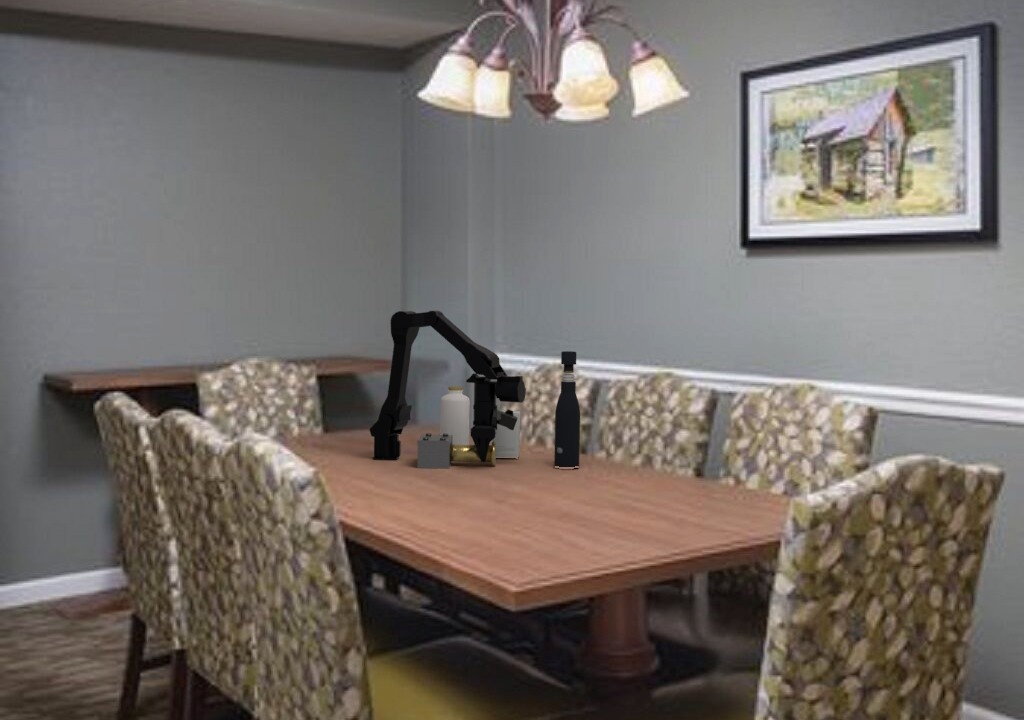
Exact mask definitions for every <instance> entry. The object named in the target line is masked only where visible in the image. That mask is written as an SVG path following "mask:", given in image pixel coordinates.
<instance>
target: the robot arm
mask: <svg viewBox="0 0 1024 720" xmlns="http://www.w3.org/2000/svg"><path fill="white" fill-rule="evenodd" d="M425 327H431V329H432V328H433V329H434V331H436V332H437V333H438V334H439V335H440V336H441V337H442V338H444V339H445V340H446V341H447V342H448V343H449V344H450V345H451V346H453V347H454V348H455V349H456V350H457V351H458V352H459V353H461V355H462V356H463V357H464V359H465V362H466V363H467V365H468V366H469V367H470V369H471V370H472V372H473V373H472V374H471V376H470V377H468V378H467V379H466V380H465V382H466V383H468V384H469V383H470V384H471V383H472V384H473V405H472V406H473V407H472V408H473V421H472V427H471V428H470V437H471V439H472V442H473V445H475V447H476V449H477V452H478V454H479V457H480V460H481V462H480V463H487V462H486V457H487V452H488V448H489V445H491V444H490V443H492V442H493V439H494V438H495V436H496V430H497V424H499V425H502V426H504V427H507V428H508V429H510V430H514V427H515V424H516V422H517V419H518V418H517V417H516V416H514V415H513V411H514V410H511V409H507V410H505V411H506V412H503V411H504V410H499V409H498V404H497V399H498V400H499V401H500V402H503V403H520V404H521V403H524V401H525V398H526V393H527V388H526V385H525V382H524V380H523V379H524V378H523V376H522V375H516V376H515V375H514V376H513V375H508V374H507V373H506V371H505V370H504V368H503V367H502V365H501V363H500V357H499V356H498V354H496V353H495V352H494V351H492V350H490V349H489V348H487V347H484V346H482V345H481V344H479V343H477V342H475V341H473V340H472V339H471V337H469V336H468V335H467V334H466V333H465V332H463V331H462V330H461V329H460V328H459V327H457V325H455V324H454V323H453V322H452V321H451V320H450V319H449V318H447V317H446V316H445V315H444V313H443V312H442V311H440V310H429V311H425V312H415V311H413V310H403V311H401V310H399V311H396V312H395V313H393V314H392V315H391V317H390V336H391V338H392V341H393V348H392V349H393V350H392V355H391V357H392V358H391V365H390V373H389V381H388V388H387V389H388V390H387V396H386V398H385V400H384V402H383V404H382V405H381V408H380V411H379V414H378V417H377V420H376V422H375V423H373V425H372V426H370V428H369V433H370V436H371V438H372V437H373V457H372V460H394V461H395V460H398V459H399V458H400V457H401V456H402V454H401V452H402V448H401V447H402V445H401V444H402V441H401V439H399V438H400V437H399V436H400V435H402V432H403V430H404V428H405V427H406V426H407V425H408V422H409V421H410V420H412V419H411V412H412V405H411V404H408V403H407V399H406V391H407V384H408V377H409V370H410V363H411V362H410V361H411V354H412V347H413V344H414V342H415V340H416V338H417V336H418V334H419V331H420V328H425Z"/></svg>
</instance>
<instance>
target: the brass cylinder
mask: <svg viewBox="0 0 1024 720" xmlns="http://www.w3.org/2000/svg"><path fill="white" fill-rule="evenodd" d="M450 461H452V463H453V462H459V463H460V462H461V463H462V462H464V463H465V462H466V463H467V462H468V463H482V462H481V460H480V457H479V454H478V452H477V449H476V447H475V444H469V445H456V444H450ZM496 462H497V459H496V442H493V441H491V444H489V448H488V452H487V457H486V462H485V463H491V466H496Z"/></svg>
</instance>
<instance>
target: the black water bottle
mask: <svg viewBox="0 0 1024 720" xmlns="http://www.w3.org/2000/svg"><path fill="white" fill-rule="evenodd" d="M560 358H561V359H560V365H563V374H562V376H561V377H562V378H561V381H560V394H559V396H558V399H557V402H556V407H555V410H554V411H555V412H554V415H555V416H554V417H555V418H554V457H553V458H554V461H553V463H554V465H555V466H559V467H575V466H579V467H580V446H581V445H580V443H581V440H580V439H581V438H580V437H581V409H580V408H581V407H580V402H579V400H578V396H577V391H576V387H577V386H576V385H577V384H576V382H577V381H575V380H576V379H575V378H576V376H575V374H573V373H574V372H575V371H574V365H577V351H570V350H569V351H568V350H565V351H561V356H560ZM554 465H553V466H554Z"/></svg>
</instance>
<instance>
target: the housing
mask: <svg viewBox="0 0 1024 720" xmlns="http://www.w3.org/2000/svg"><path fill="white" fill-rule="evenodd" d="M450 444H453V435H448V434H443V435H440V434H432V433H429V432H427V433H425V434H421V435H420V437H418V439H417V469H437V468H449V467H450V468H451V466H450V465H452V464H451V463H453V462H452V461H450ZM450 468H449V469H450Z"/></svg>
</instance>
